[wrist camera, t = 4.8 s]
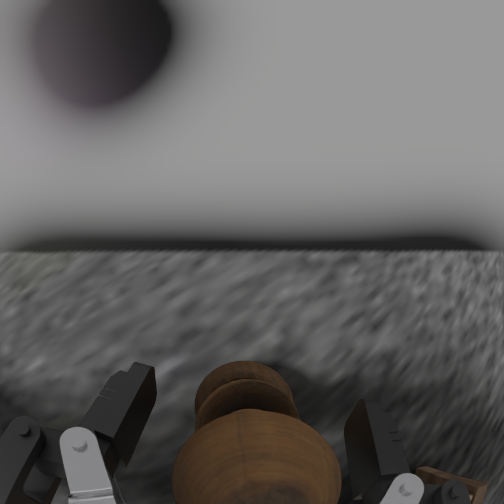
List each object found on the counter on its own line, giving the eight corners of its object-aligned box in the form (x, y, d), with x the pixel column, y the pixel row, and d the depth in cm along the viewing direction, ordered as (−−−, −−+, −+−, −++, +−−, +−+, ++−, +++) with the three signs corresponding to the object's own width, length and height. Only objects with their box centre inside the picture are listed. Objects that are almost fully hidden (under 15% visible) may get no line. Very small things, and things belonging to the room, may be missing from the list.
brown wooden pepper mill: (269, 349, 21) (377, 238, 4) (301, 424, 18) (475, 520, 2) (186, 378, 20) (9, 362, 3) (217, 454, 17) (162, 631, 1)
